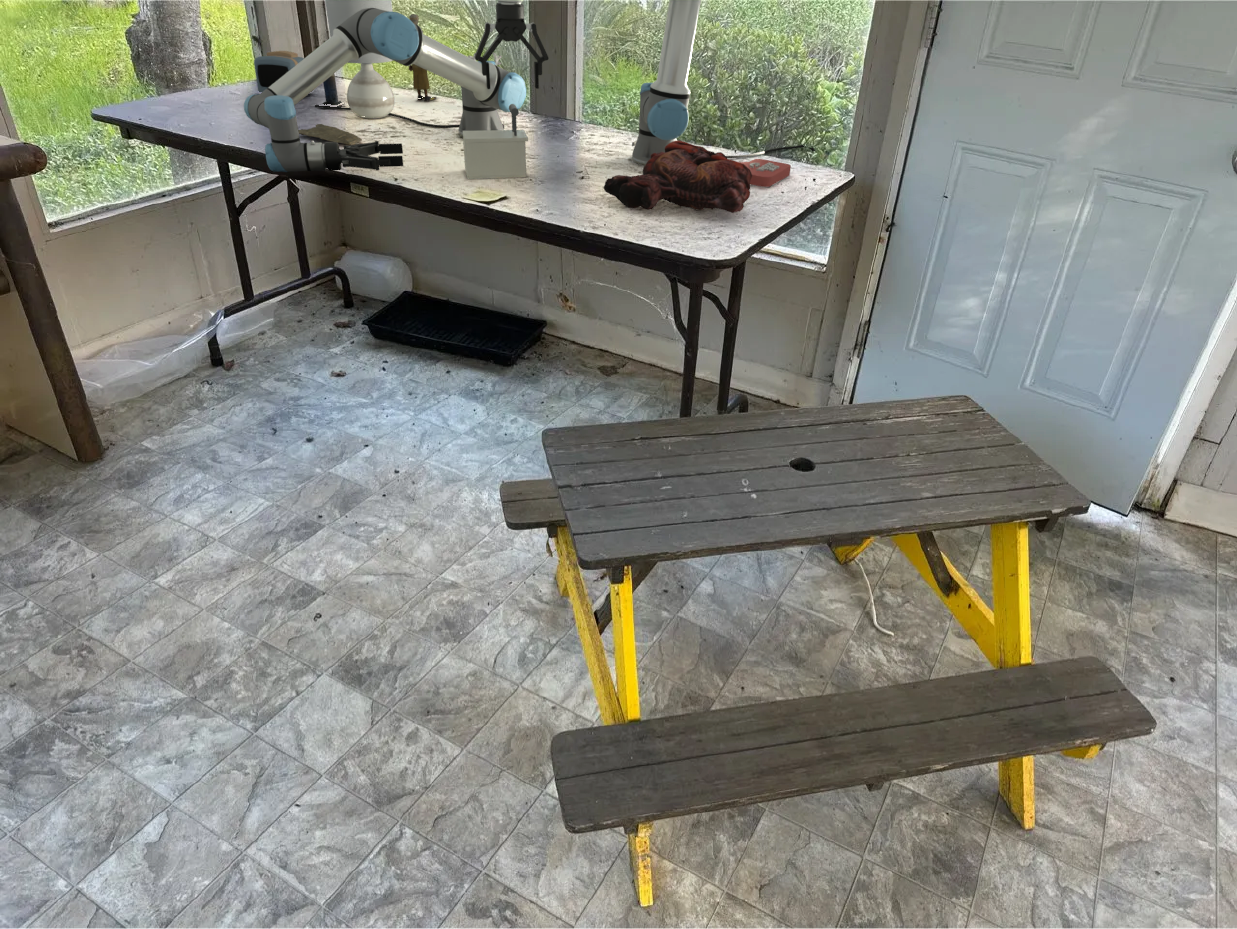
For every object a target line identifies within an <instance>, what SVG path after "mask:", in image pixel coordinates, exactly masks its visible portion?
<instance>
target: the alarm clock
mask: <svg viewBox="0 0 1237 929" xmlns="http://www.w3.org/2000/svg"><path fill="white" fill-rule="evenodd" d="M303 59H305V57H302V56H299V55H298V53H296V52H293V51H289V50H275V51H269V52H266V55H261V56H257V57H256V58H254V60H253V65H254V72H255V77H256V78H255V79H256V86H257V92H258V91H259V92H263V91H264V90H266V89H267V88H268V87H270V86H271V85H272V84H273V83H275V82H276V81H277V80H278V79H280V78H281V77H282V76H283V75H285V74H286V73H287V72H288V71H290V70H291V69H292V68H293V67H295V66H296V65H297V64H298V63H300V62H301V61H302V60H303Z"/></svg>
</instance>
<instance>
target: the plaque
mask: <svg viewBox="0 0 1237 929" xmlns="http://www.w3.org/2000/svg"><path fill="white" fill-rule="evenodd" d="M739 162H740V163H742V164H744V165H745V166H746V167H747V168H749V169H750V171H751V173H752V178H751V180H750V186H751V185H752V186H755V187H762V188H769V187H772V186H773V185H775V184H777V183H779V182H780V181H782V180H784V179H786V178H788V177H789V176H790V175H791V168H792V165H791V164H789V163H786V162H781V161H775V160H769V159H763V158H754V159H752V160H749V161H739Z"/></svg>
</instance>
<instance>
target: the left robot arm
mask: <svg viewBox="0 0 1237 929" xmlns="http://www.w3.org/2000/svg"><path fill="white" fill-rule="evenodd" d="M422 31H423V29H422V27H421V26H420V25H419V24H418V25H416V24H414V23H413V22H412V21H411V20H410V19H409V17H407V16H406V15H404V14H402V13H401V12H397V11H393V12H390V11H385V10H380V9H377V8H366V9H362V10H360V11H358V12H356V13H355V14H353V15H352V16H351V17H349V18H348V19H347V20H345V21H344V22H343V23H341V24H340V25H339V26H338V27H336V28H335V29H334V30H333V36H332V37H331V38H330V37H329V38H328V39H326V41H324V42H323V43H322V44H321V45H319V46H318V47H317V48H315V49H314V50H313V51H312V52H311V53H308V55H307V56H306V57H304V59H303V60H302V61H301V62H300V63H298V64H297V65H296V66H295V67H293V68H292V69H291V70H290V71H288V72H287V73H286V74H285V75H283V76H282V77H281V78H280V79H278V80H277V81H276V82H275V83H273V84H272V85H271V86H270V87H268V88H267V89H266V90H264V91H263V92H262V93H261V94H259V93H252V94H250V95H248V96H247V97H246V99H245V100H244V103H243V111H244V113H245V115H246V117H247V118H248V119H249V120H251V121H252V122H254V124H257V125H260V126H263V127H265V128H266V129H268V130H269V135H270V143H265V146H264V154H265V159H266V165H267V167H268V169H269V170H270V171H272V172H280V173H281V172H282V173H293V172H325V171H327V170H328V171H330V172H331V171H332V172H333V171H341V170H342V167H343V168H357V169H358V168H359V169H366V170H374V171H380V168H388V167H390V168H392V167H393V168H394V167H404V158H403V157H404V156H403V154H404V150H403V143H402V142H400V143H380V142H379V140H375V141H373V142H365V143H356V144H354V145H348V144H344V145H343V148H340V145H339V143H337V142H331V141H325V142H324V143H322V142H315V141H314V140H310V142H301V135H300V134H299V131H298V130H299V125H298V119H297V118H298V117H297V110H296V108H295V106H296V105H297V104H298V103H300V102H301V101H302V100H303V99H304V98H306V97H308V96H309V95H308V94H309V93H310V92H312V91H313V90H314V91H315V90H316V89H317V88H318V87H319V86H321V85H323V82H324V81H325V80H327V79H328V78H329V77H330V76H332V75H333V74H334V75H335V73H337V72H338V71H339V70H341V69H342V68H343V67H345V65H347V64H349V63H348V62H349V61H350V60H351V59H353V60H358V59H359V58H360V57H361V56H363V55H365V54H368V53H375V54H379V55H382V56H384V57H387V58H389V59H391V60H393V61H394V62H396V63H398V64H399V65H402V66H404V67H409V66H410V65H412V64H415V65H417V66H419V67H421V68H423V69H426V70H427V72H430V73H431V74H433V73H434V74H435V75H437V76H438V77H441V78H443V79H445V80H447V81H449V82H451V83H453V84H455V85H457V86H460V89H461V90H460V91H461V105H462V113H461V118H460V121H459V124H446V125H445V124H433V123H426V122H422V121H418V120H416V119H413V118H410V117H407V116H404V115H400V114H396V113H392V112H390V113H389V114H388V115H387V116H390V117H394V118H398V119H401V120H405V121H408V122H411V123H414V124H417V125H419V126H423V127H428V128H429V127H430V128H435V129H453V128H454V129H455V128H458V136H459V137H460V138H462V139H463V131H484V130H505V124H504V123H503V122H502V119H501V117H500V114H499V111H502V112H504V113H511V112H510V110H509V106H510V105H511V104H514V105H515V106H516V107H517V109H518V110H519V109H520V108H521V107H522V106H523V105H524V103H525V101H526V97H527V87H526V82H525V80H524V78H523V77H522V76H521V75H520V74H519V73H517V72H515V71H514V72H512V71H508V70H506V69H505V68H502V67H500V66H499V65H497V66H496V64H495V62H494V61H495V60H487V62H488V63H489V72H490V89H487V82H486V76H483V74H482V64H481V62H480V61H477V60H476V61H475V60H473V59H471V58H469V57H468V55H465V54H463V53H462V52H460V51H457V50H455V49H453V48H451V47H449V46H448V45H445V44H443V43H442V42H439V41H437V40H436V39H435V38H432V37H430V36H429V35H426V34H424V31H423V32H422ZM393 61H392V62H393ZM434 74H433V75H434ZM319 105H320V104H316V105H315V104H314V107H315V108H319V109H320V108H321V107H320V106H319ZM323 107H324V106H323ZM341 107H342V106H340V107H333V108H330V106H329V107H328V106H326V107H325V108H324V109H331V110H341V111H343V110H344V111H352V110H351V109H350V107H349V108H341ZM321 109H322V108H321ZM377 154H379V155H378V156H372V155H377ZM400 154H402V155H400Z"/></svg>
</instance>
